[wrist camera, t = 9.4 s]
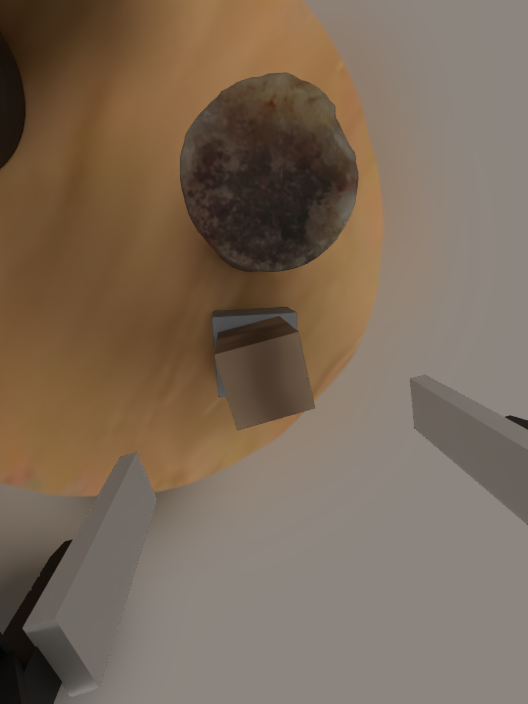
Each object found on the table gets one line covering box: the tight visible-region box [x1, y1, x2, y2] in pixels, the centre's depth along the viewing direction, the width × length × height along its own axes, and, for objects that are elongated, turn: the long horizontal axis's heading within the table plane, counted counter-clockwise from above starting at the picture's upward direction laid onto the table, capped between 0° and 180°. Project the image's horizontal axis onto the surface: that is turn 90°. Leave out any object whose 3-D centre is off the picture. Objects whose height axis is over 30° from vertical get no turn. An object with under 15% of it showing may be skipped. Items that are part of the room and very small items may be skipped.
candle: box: [180, 72, 358, 272], centre depth 21 cm, size 8×7×20 cm
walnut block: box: [214, 316, 315, 430], centre depth 25 cm, size 6×6×8 cm
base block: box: [212, 307, 297, 397], centre depth 31 cm, size 8×8×5 cm
